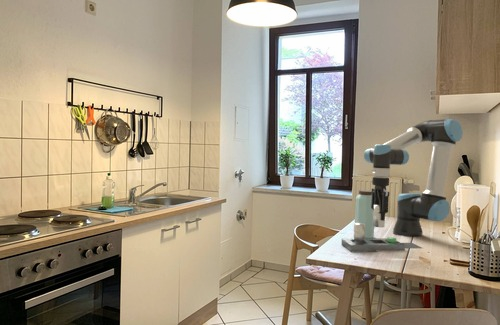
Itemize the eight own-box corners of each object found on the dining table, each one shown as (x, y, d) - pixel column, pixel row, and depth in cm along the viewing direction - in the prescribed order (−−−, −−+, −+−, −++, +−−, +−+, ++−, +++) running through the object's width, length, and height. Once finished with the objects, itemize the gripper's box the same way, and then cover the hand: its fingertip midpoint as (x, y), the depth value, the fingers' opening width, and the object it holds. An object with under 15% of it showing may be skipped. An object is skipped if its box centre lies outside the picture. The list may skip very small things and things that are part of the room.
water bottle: (374, 240, 187) (377, 192, 186) (354, 239, 189) (356, 191, 188) (372, 236, 197) (374, 190, 196) (353, 234, 199) (355, 189, 198)
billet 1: (361, 243, 176) (362, 222, 175) (366, 246, 171) (366, 225, 170) (351, 243, 175) (352, 222, 175) (355, 246, 170) (356, 225, 170)
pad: (411, 243, 183) (411, 242, 183) (423, 249, 173) (423, 248, 173) (392, 243, 182) (393, 242, 182) (403, 249, 172) (403, 248, 172)
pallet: (392, 244, 181) (392, 238, 181) (404, 251, 169) (405, 245, 169) (341, 244, 178) (341, 238, 178) (350, 251, 166) (351, 245, 166)
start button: (393, 241, 177) (393, 237, 177) (397, 244, 173) (398, 239, 173) (385, 241, 176) (385, 237, 176) (389, 244, 172) (389, 239, 172)
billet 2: (381, 225, 176) (382, 204, 176) (385, 227, 171) (387, 206, 171) (371, 225, 176) (372, 204, 175) (375, 227, 171) (376, 206, 170)
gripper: (365, 175, 181) (363, 221, 182) (382, 178, 163) (379, 229, 164) (379, 175, 182) (377, 221, 183) (398, 178, 164) (395, 230, 165)
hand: (378, 225), depth 173 cm, fingers closed on billet 2, 5 cm apart
